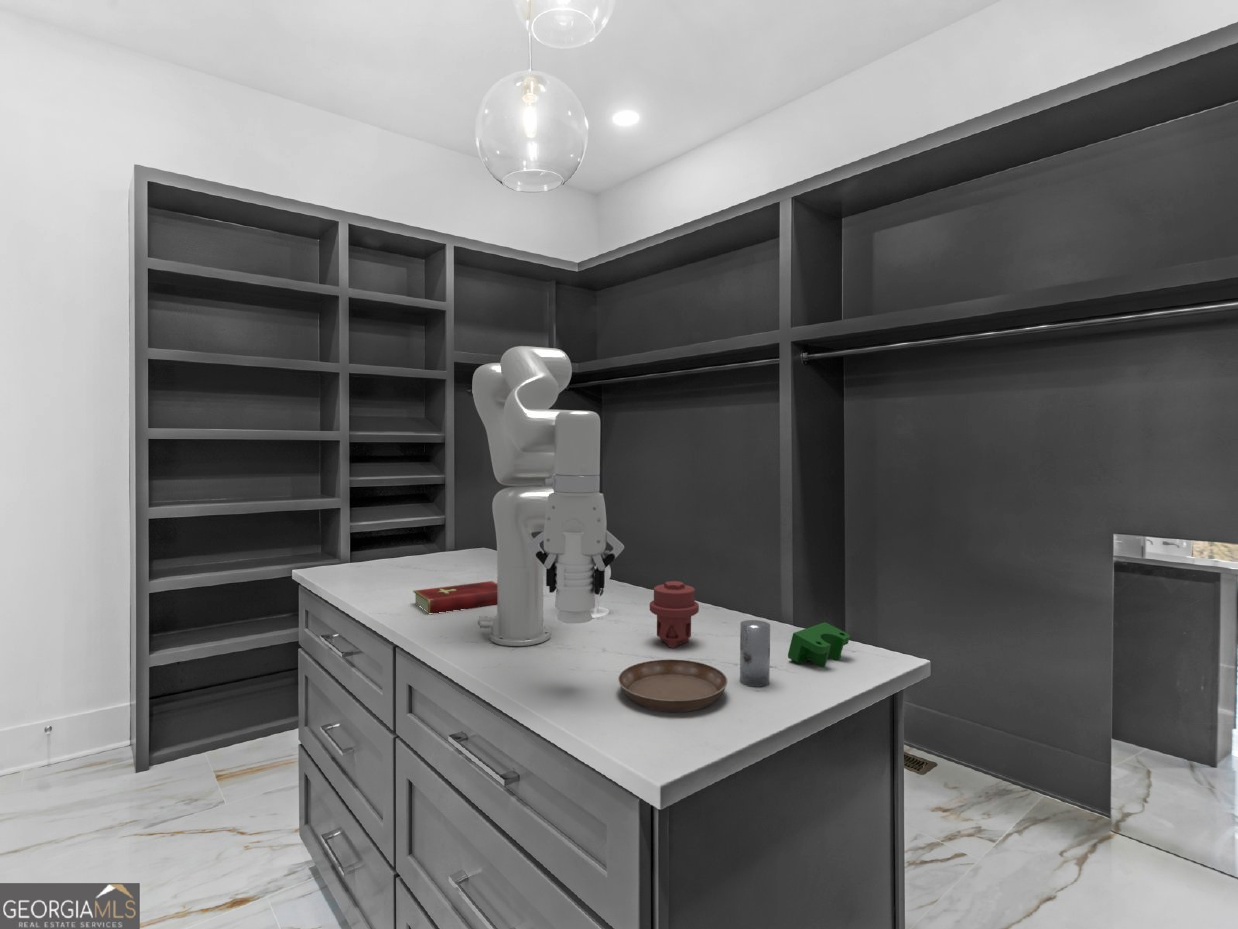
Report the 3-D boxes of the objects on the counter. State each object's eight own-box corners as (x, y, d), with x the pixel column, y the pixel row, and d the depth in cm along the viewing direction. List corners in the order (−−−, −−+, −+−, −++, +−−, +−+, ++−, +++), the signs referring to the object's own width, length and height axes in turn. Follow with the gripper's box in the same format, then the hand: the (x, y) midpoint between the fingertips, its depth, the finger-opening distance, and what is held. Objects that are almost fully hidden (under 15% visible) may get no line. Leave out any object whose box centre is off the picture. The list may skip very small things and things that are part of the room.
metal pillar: (741, 686, 109) (741, 627, 109) (738, 675, 114) (739, 619, 114) (771, 687, 109) (772, 628, 108) (767, 677, 114) (768, 620, 113)
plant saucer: (647, 727, 94) (647, 706, 94) (601, 685, 110) (601, 667, 110) (749, 707, 101) (749, 688, 101) (692, 670, 118) (692, 653, 117)
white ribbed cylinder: (545, 618, 108) (546, 528, 107) (575, 609, 113) (576, 524, 113) (573, 627, 104) (574, 534, 103) (604, 618, 109) (605, 529, 108)
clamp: (815, 690, 119) (815, 653, 115) (788, 674, 124) (787, 638, 120) (851, 654, 126) (853, 618, 122) (825, 639, 130) (825, 604, 126)
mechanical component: (700, 637, 137) (696, 652, 127) (653, 634, 139) (645, 648, 129) (700, 579, 136) (696, 589, 126) (653, 577, 138) (646, 587, 128)
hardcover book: (510, 604, 165) (510, 588, 165) (428, 617, 153) (428, 599, 153) (491, 595, 175) (491, 580, 175) (413, 606, 163) (413, 589, 163)
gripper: (519, 486, 104) (518, 595, 105) (627, 488, 103) (625, 599, 104) (530, 482, 112) (529, 584, 113) (630, 484, 110) (628, 588, 111)
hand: (575, 590), depth 108 cm, fingers closed on white ribbed cylinder, 6 cm apart
